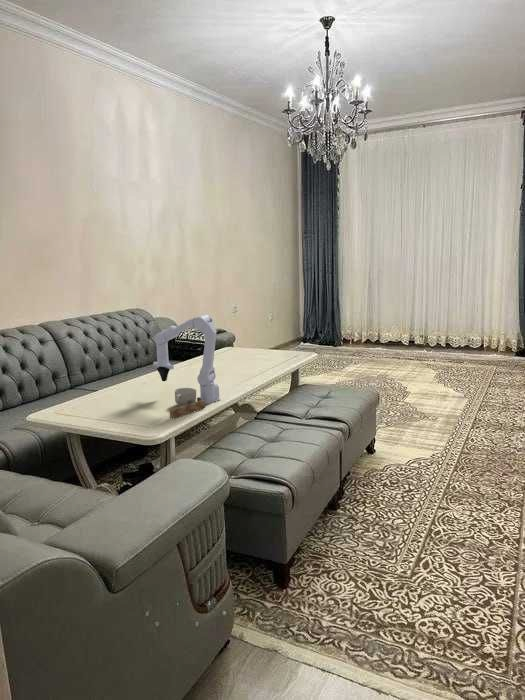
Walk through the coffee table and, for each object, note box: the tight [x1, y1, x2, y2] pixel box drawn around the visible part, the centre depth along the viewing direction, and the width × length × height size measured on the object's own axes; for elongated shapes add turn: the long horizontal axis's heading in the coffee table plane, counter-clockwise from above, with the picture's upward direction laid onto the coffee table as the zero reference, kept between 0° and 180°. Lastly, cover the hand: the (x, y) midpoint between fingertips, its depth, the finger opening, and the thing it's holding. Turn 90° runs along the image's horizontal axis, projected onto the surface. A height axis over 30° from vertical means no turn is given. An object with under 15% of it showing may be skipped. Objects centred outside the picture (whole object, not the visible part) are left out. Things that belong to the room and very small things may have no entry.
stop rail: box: [169, 396, 206, 420], centre depth 258 cm, size 20×4×5 cm, turn 137°
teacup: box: [174, 387, 197, 407], centre depth 268 cm, size 14×11×8 cm
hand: (164, 380), depth 282 cm, fingers closed
